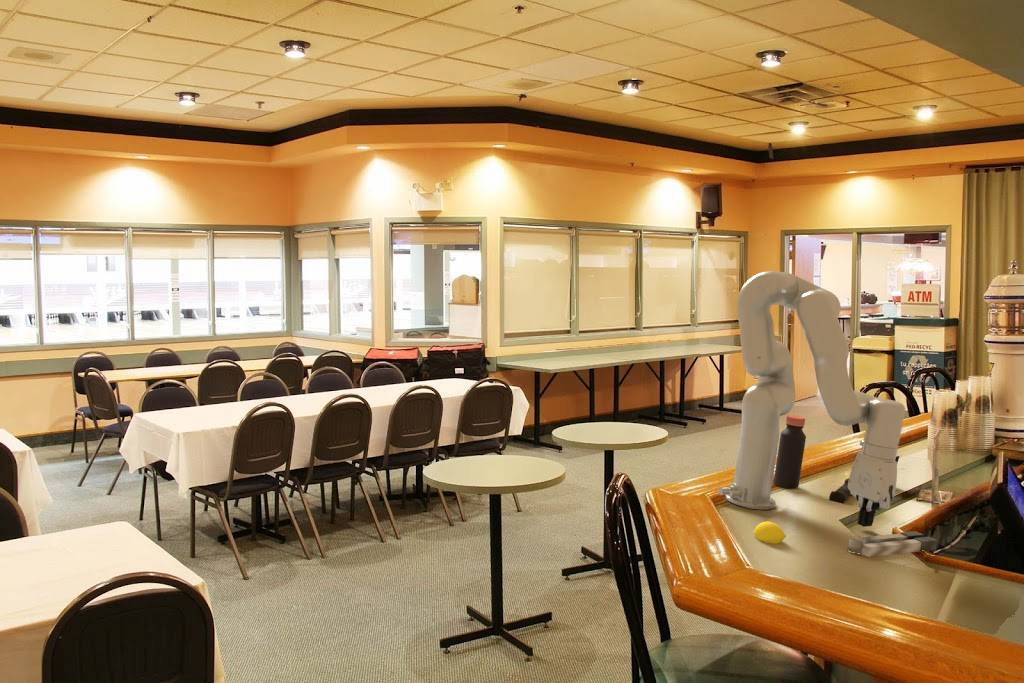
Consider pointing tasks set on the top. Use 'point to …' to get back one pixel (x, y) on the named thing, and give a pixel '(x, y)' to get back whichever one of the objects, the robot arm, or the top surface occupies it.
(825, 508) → the top surface
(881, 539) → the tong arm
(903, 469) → the top surface
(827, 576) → the top surface
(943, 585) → the top surface
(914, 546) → the tongs board
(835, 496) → the hand tool
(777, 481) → the bottle
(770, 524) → the lemon
